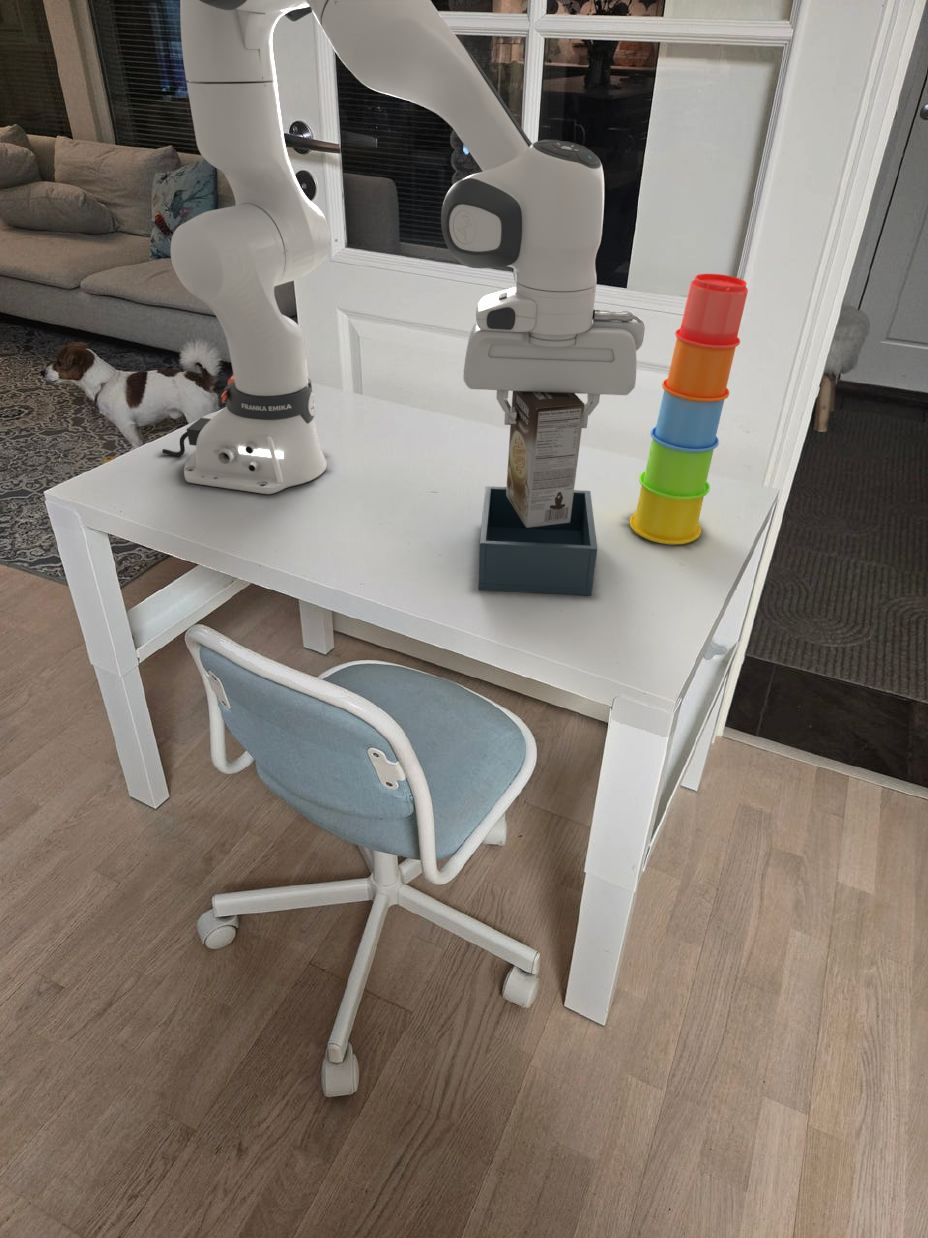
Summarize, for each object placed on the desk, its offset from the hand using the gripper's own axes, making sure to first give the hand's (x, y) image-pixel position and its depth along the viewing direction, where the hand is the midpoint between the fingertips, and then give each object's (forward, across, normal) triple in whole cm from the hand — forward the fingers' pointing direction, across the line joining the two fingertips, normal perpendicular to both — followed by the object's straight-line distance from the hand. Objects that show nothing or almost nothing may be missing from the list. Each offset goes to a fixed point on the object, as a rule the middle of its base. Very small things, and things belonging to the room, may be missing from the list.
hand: (544, 424), depth 100 cm
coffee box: (+12, 0, 0) cm, 12 cm away
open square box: (+20, 0, 0) cm, 20 cm away
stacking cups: (+20, -19, -10) cm, 29 cm away
